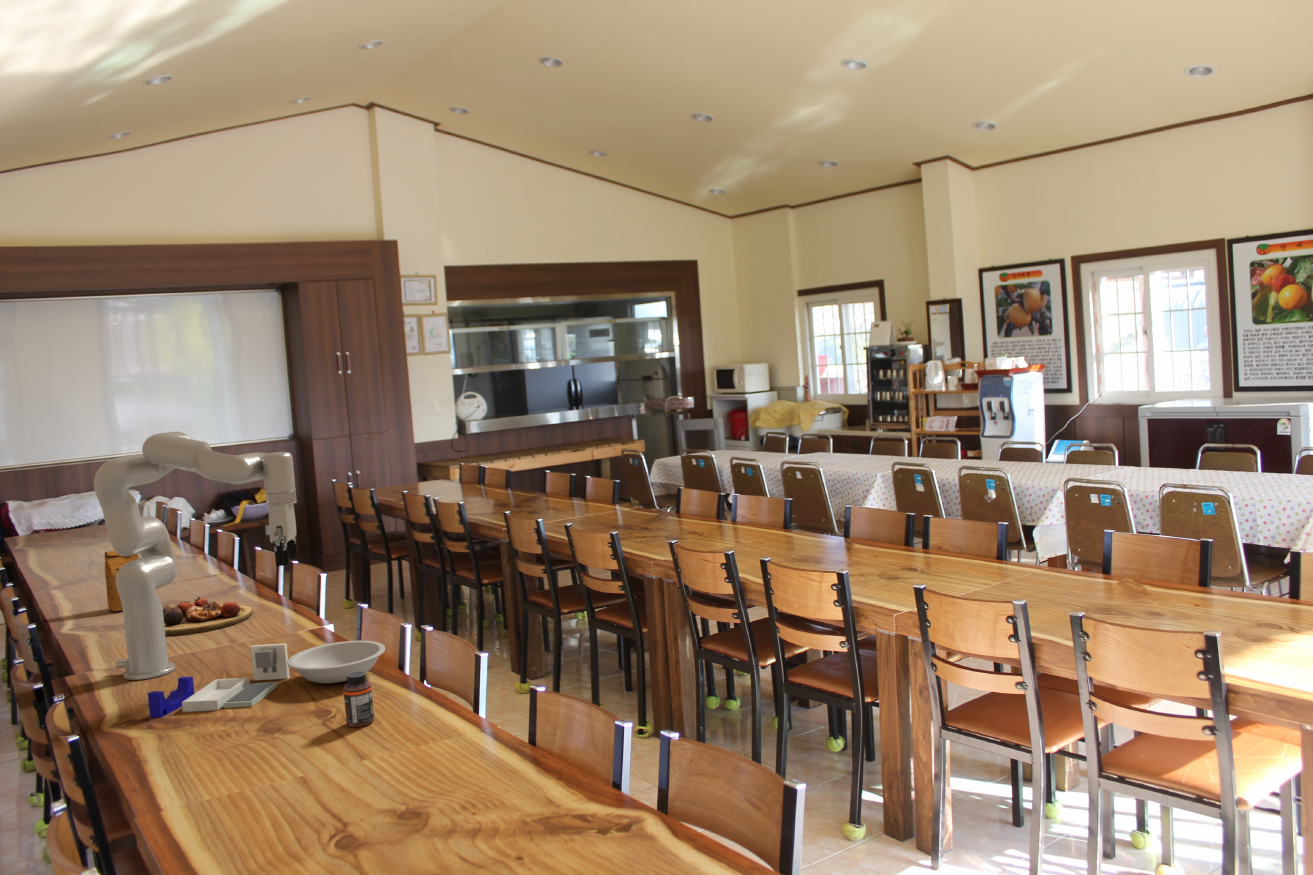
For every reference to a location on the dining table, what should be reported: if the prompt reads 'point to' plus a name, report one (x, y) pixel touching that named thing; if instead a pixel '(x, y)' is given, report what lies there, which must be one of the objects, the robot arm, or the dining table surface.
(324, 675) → the soup bowl
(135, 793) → the dining table surface
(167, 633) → the wooden plate with food
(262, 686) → the phone
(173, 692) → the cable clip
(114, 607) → the coffee package
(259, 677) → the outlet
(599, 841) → the dining table surface
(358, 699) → the supplement bottle
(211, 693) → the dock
